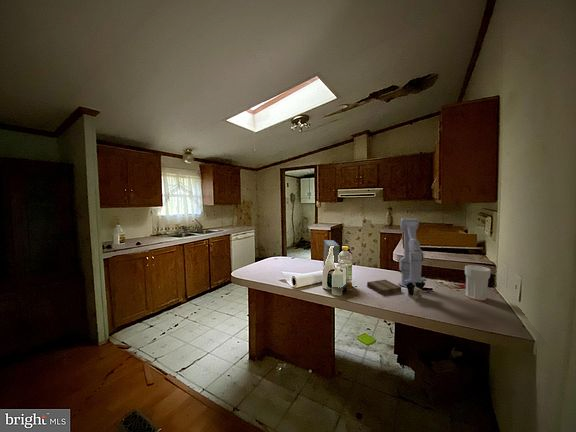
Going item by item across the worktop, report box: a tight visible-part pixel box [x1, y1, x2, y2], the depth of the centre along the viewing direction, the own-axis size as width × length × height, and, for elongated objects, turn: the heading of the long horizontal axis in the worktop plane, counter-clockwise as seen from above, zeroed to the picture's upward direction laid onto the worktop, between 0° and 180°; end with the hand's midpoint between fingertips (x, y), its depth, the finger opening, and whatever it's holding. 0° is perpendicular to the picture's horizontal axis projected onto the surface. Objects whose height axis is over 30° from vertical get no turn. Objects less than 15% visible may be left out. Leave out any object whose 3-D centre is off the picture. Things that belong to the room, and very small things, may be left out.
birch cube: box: [407, 287, 423, 300], centre depth 133 cm, size 5×5×5 cm
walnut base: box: [366, 279, 402, 296], centre depth 145 cm, size 14×14×3 cm
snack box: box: [322, 239, 340, 268], centre depth 166 cm, size 22×9×26 cm, turn 179°
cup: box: [464, 264, 492, 302], centre depth 131 cm, size 11×11×17 cm
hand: (414, 294), depth 133 cm, fingers closed on birch cube, 5 cm apart
